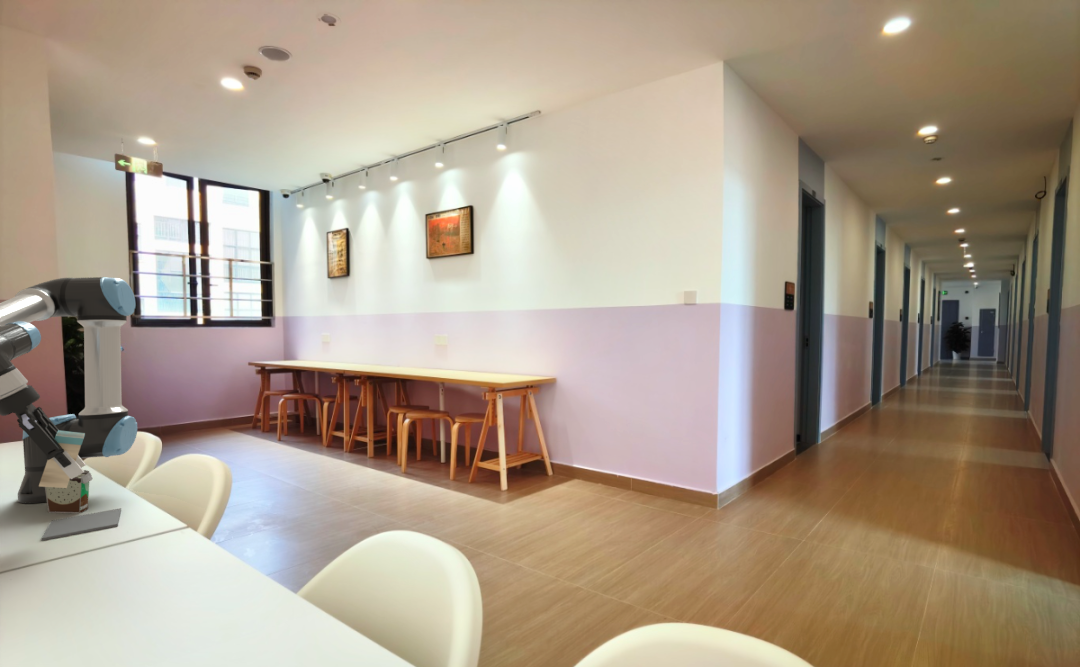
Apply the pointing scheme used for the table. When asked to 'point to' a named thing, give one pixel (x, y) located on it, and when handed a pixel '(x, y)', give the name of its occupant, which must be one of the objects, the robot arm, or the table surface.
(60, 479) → the maple block
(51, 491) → the food container
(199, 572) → the table surface
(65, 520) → the charcoal mat
